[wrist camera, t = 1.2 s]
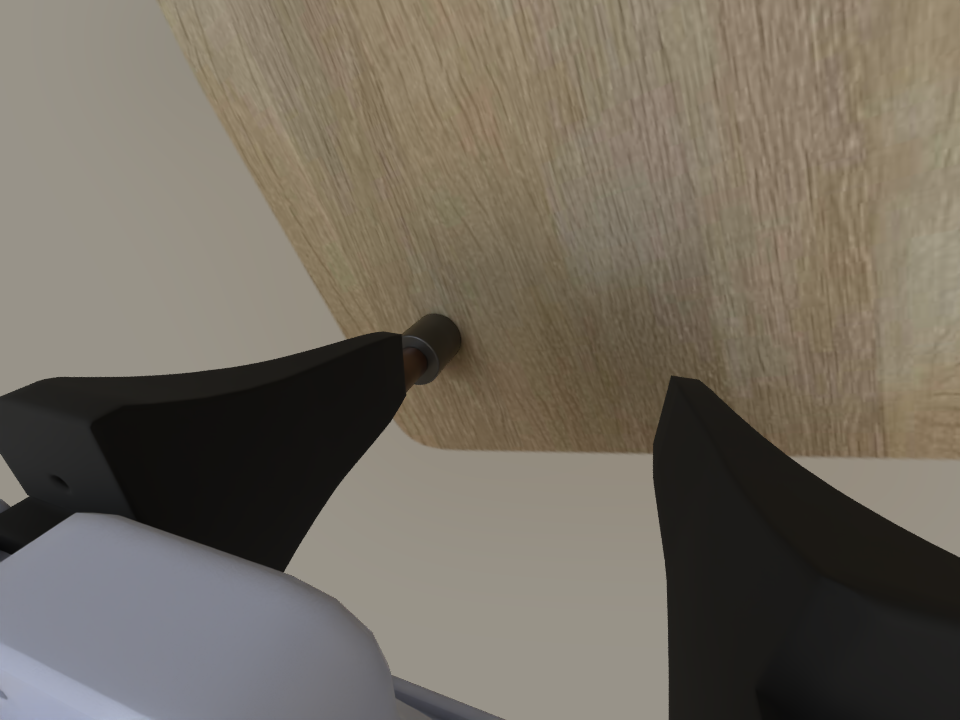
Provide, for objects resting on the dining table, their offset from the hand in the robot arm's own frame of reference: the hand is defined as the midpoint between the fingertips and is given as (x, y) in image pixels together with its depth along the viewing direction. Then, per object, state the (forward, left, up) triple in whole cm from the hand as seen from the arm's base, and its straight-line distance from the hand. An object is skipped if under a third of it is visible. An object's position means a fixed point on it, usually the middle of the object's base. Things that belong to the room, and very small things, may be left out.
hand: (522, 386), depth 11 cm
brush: (-4, +7, -10) cm, 13 cm away
